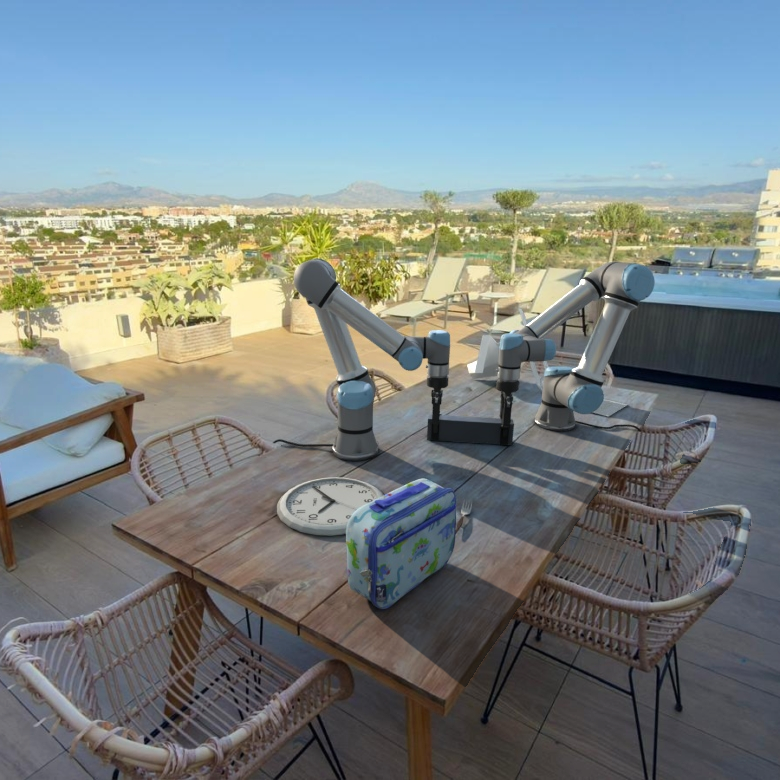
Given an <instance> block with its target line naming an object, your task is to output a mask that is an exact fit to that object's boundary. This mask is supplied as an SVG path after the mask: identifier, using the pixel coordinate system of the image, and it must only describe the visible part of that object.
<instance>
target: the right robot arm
mask: <svg viewBox="0 0 780 780" xmlns="http://www.w3.org/2000/svg"><path fill="white" fill-rule="evenodd" d="M655 281H656V280H655V276H654V273H653V271H652V270H651V269H650V268H649V267H648V266H646V265H645V264H640V263H638V262H637V263H636V262H634V263H633V262H624V261H623V262H622V261H610V262H607V263H604V264H602V265H600V266H599V267H597V268H595V269H594V270H592V271H590V272H588V274H587V275H585V276H584V277H583V278H581V279H580V280H579V282H578V283H579V284H578V285H577V286H576V287H574V288H572V290H570V291H569V292H568V293H566V294H565V295H564V296H562V297H561V298H560V299H559V300H557V301H556V302H554V304H552V305H551V306H549V307H548V308H547V309H546V310H544V311H543V312H541V313H540V314H539V315H538V316H537V317H535V318H534V319H533V320H532V321H530V322H528V325H526V326H525V327H524V326H523V327H522V328H521V329H513V330H512V331H510V332H508V333H504V334H501V337H500V340H499V342H500V346H499V364H498V368H499V369H496V372H498V376H496V377H497V379H496V387H495V388H496V390H497V391H499V392H500V407H499V419H502V426H500V428H501V435H500V445H499V446H509V445H508V436H509V429H510V422H511V419H512V409H513V401H514V396H513V394H512V393H517V392H518V391H519V389H520V379H521V368H522V367H521V366H522V363H530V362H534V363H535V362H542V361H543V362H544V361H547V362H548V361H549V362H550V361H552V360H553V359H555V357H556V354H557V345H556V342H555V341H554V340H553V339H551V338H546V337H547V336H548V335H549V334H551V333H552V332H553V331H554V330H556V329H557V328H559V327H560V326H561V325H562V324H564V323H565V322H567V321H568V320H569V319H571V318H572V317H573V316H574V315H576V314H577V313H578V312H579V311H581V310H582V309H583V308H585V307H587V305H589V304H591V303H592V302H597V301H598V300H600V299H601V298H603V300H604V306H603V308H602V310H601V312H600V315H599V317H598V319H597V321H596V324H595V325H594V329H593V331H592V333H591V336H590V337H589V340H588V342H587V345H586V346H585V349H584V352H583V354H582V356H581V359H580V361H579V363H578V365H577V367H572V366H558V365H557V366H549V368H547V369H546V370H545V369H544V373H543V381H542V382H543V384H542V387H543V391H541V393H542V394H541V402H540V405H539V407H538V410H537V411H536V413H535V416H534V424H535V425H536V426H537V427H539V428H542V429H544V430H549V431H556V432H567V431H572V430H574V429H575V428H576V424H578V425H583V426H588V427H591V428H596V429H600V430H601V429H602V430H610V429H613V428H617V427H627V428H628V427H629V428H633V429H636V430H637V432H642V429H640V428H639V427H638V426H636V425H633V424H613V425H611V426H600V425H596V424H591V423H588V422H587V423H586V422H582V421H579V420H578V421H577V420H576V418H575V417H576V416H575V413H577V414H580V415H589V414H591V413H592V412H594V411H595V410H597V409H598V408H599V407H600V406H601V404H602V402H603V400H604V399H605V394H604V390H603V389H602V387H603V385H604V383H605V380H604V378H603V374H604V371H605V369H606V367H607V365H608V363H609V360H610V358H611V356H612V353H613V351H614V349H615V347H616V344H617V342H618V340H619V338H620V335H621V333H622V331H623V328H625V324H626V322H627V319H628V317H629V315H630V313H631V312H632V311H634V310H635V309H638V307H639V304H640V302H641V301H644V300H646V298H649V297H650V296H651V295H652V293H653V292H654V288H655V283H656V282H655ZM521 362H522V363H521ZM543 362H542V363H543Z"/></svg>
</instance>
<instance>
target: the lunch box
mask: <svg viewBox="0 0 780 780" xmlns="http://www.w3.org/2000/svg"><path fill="white" fill-rule="evenodd" d="M456 498H457V496H456V493H455V491H454V489H452V488H450V487H443V486H441V485H439V484H438V483H436V482H433V481H432V480H430V479H427V478H423V477H422V478H418V479H416V480H413V481H411V482H409V483H406V484H405V485H402V486H400V487H398V488H396V489H394V490H392V491H390V492H388V493H386V494H384V496H382V497H380V498H378V499H376V500H374V501H372V502H370V503H368V504H366V505H364V506H362V507H360V508H358V509H357V510H356V511H355V512H354V513H353V514H352V515H351V517H350V519H349V521H348V524H347V528H346V534H345V547H346V549H345V550H346V572H347V573H346V575H347V584H348V587H349V589H350V590H351V591H353V592H355V593H357V594H358V595H361V596H363V597H364V598H365V599H367V600H368V601H369V602H371V604H372V605H373V606H374V607H376V608H377V609H380V610H386V609H389V608H391V607H393V605H395V603H397V602H398V601H399V600H400V599H402V598H403V597H404V596H405V595H408V593H410V592H411V591H412V590H413V589H415V588H416V587H417V586H419V585H420V584H421V583H423V581H424V580H425V579H427V578H428V577H430V576H431V575H433V574H435V573H437V572H438V571H439V570H441V569H442V568H443V567H444V566H446V564H447V563H448V562H449V560H450V559H451V556H452V555H453V552H454V548H455V544H456V535H455V533H456V528H457V499H456ZM456 534H457V533H456Z"/></svg>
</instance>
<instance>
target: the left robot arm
mask: <svg viewBox="0 0 780 780" xmlns="http://www.w3.org/2000/svg"><path fill="white" fill-rule="evenodd" d="M293 284H294V287H295V289H296V291H297V293H299V295H301V296H302V297H303V298H305V301H306V303H307V306H309V307H311V308H313V309H314V312H315V314H316V317H317V319H318V322H319V323H318V324H319V326H320V328H321V330H322V334H323V336H324V339H325V342H326V344H327V348H328V350H329V352H330V355H331V358H332V361H333V364H334V366H335V368H336V371H337V375H336V376H335V381H336V384H337V393H336V400H337V433H336V435H335V438H334V441H333V443H313V444H312V443H310V444H309V443H308V444H307V443H306V444H305V443H304V444H303V443H296V442H293V441H288V440H285V439H281V438H278V439H275V440H274V441H273V442H272V444H276V443H279V442H281V443H284V444H288V445H292V446H295V447H301V448H311V447H312V448H315V447H317V448H319V447H332V454H333V456H335V458H338V459H340V460H343V461H349V462H361V461H366V460H370V459H372V458H374V457H376V456H377V455H378V453H379V444H378V441H377V440H376V436H375V434H374V403H375V397H376V393H377V389H376V385H375V382H374V380H373V378H371V375H370V373H369V370H368V368H367V367H366V366H364V365H362V364H361V363H362V362H361V361H360V358H359V355H358V352H357V349H356V346H355V344H354V341H353V338H352V335H351V332H350V330H349V327H351V328H352V329H353V330H354V331H356V332H358V333H359V334H360V335H361V336H363V337H364V338H366V339H367V340H369V342H371V343H373V344H374V345H375V346H376V347H378V348H380V350H382V351H383V352H384V353H386V354H387V355H389V356H390V357H391V358H392V359H394V360H395V361H397V362H398V364H399V365H400V367H401V368H402V369H404V370H405V371H408V372H412V371H416V370H418V369H419V368H420V367H421V365H422V364H423V360H425V359H427V365H425V369H427V371H426V372H427V376H426V386H427V387H428V388H430V389H431V392H430V397H431V404H432V413H431V414H432V422H430V424H432V430H431V440H430V441H437V442H438V441H439V415H443V414H442V413H441V405H442V399H443V395H444V390H443V389H446V388H447V387H448V386H449V378H450V377H449V375H450V357H451V355H450V354H451V334H450V332H449V331H446V330H441V329H435V330H434V329H433V330H430V331H429V332H428V334H427V336H405V335H403V334H401V333H400V332H399V331H398V330H396V329H395V328H394V327H393V326H391V325H389V324H388V323H387V322H385V321H384V320H383V319H381V317H379V316H377V315H376V314H375V313H373V312H372V311H371V310H370V309H368V308H367V307H366V306H364V305H363V304H362V303H360V302H359V301H358V300H356V299H355V298H354V297H352V296H351V295H350V294H348V293H347V292H346V291H345V290H343V289H342V287H341V284H340V282H338V281H337V273H336V270H335V268H334V267H333V266H332V264H331V263H329V261H327V260H326V259H322V258H315V257H314V258H311V259H309V260H307V261H304V262H302V263H300V264H299V265H298V266H297V267H296V269H295V271H294V273H293ZM348 326H349V327H348ZM439 442H440V441H439Z"/></svg>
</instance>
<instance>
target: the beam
mask: <svg viewBox="0 0 780 780" xmlns="http://www.w3.org/2000/svg"><path fill="white" fill-rule="evenodd" d="M430 422H432V413H431V414H430V413H428V415H427V429H426V430H427V431H426V440H427V441H432V440H431V430H432V424H430ZM500 426H502V419H500V417H499V418H498V417H497V418H495V417H481V416H464V415H447V414H446V415H445V414H442V415H439V442H440V441H441V442H453V443H457V442H458V443H471V444H483V445H484V444H487V445H499V446H501V445H500V435H501V428H500ZM514 429H515V422H514V419H512V418H511V422H510V429H509V436H508V445H507V446H513V439H514Z"/></svg>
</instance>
